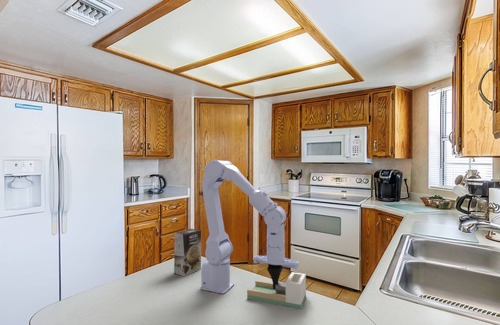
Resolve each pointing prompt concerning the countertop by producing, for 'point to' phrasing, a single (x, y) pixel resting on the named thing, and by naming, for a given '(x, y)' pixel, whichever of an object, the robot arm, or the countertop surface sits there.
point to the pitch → (268, 294)
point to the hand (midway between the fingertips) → (275, 288)
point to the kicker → (281, 288)
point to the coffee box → (187, 252)
